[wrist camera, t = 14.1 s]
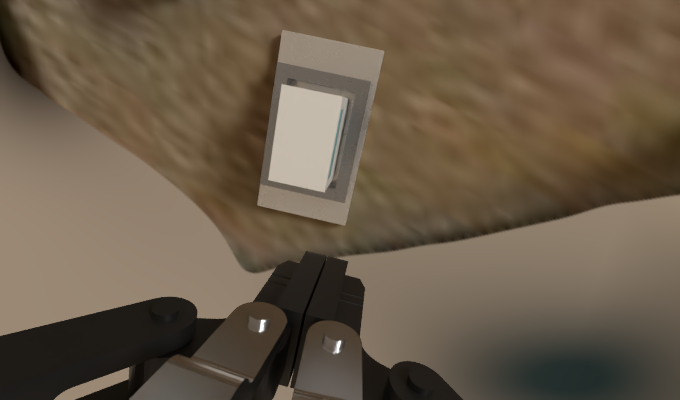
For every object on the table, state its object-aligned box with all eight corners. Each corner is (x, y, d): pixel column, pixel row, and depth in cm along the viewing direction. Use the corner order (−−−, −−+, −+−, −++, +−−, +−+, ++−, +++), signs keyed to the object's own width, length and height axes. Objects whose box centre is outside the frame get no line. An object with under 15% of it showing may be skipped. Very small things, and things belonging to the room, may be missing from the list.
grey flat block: (384, 52, 33) (384, 47, 30) (346, 222, 38) (343, 232, 35) (285, 32, 34) (276, 25, 31) (260, 202, 39) (250, 210, 36)
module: (349, 98, 34) (343, 96, 27) (334, 176, 36) (324, 192, 29) (300, 88, 34) (281, 84, 27) (288, 166, 36) (267, 180, 29)
